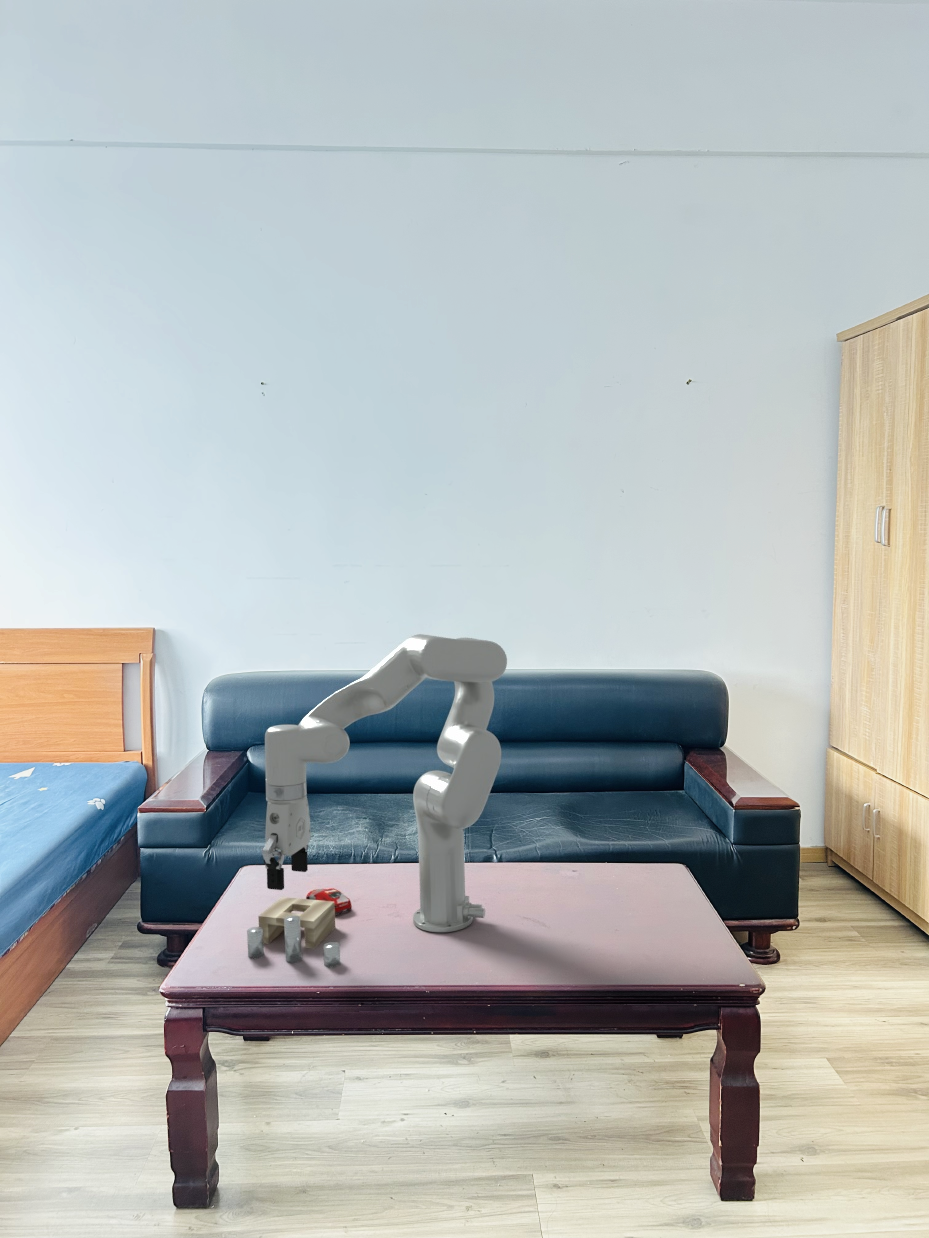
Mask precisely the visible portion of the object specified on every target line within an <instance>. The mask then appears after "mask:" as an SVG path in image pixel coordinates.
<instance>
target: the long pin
mask: <svg viewBox="0 0 929 1238" xmlns="http://www.w3.org/2000/svg"><path fill="white" fill-rule="evenodd" d="M283 931H284V952H285V953H284V954H285V956H284V957H285V962H286V963H289V964H290V963H291V964H294V963H298V962H300V961H302V958H303V957H302V956H303V955H302V937H301V936H302V934H301V933H302V931H301V927H300V917H299V916H297V915H291V916H287V917H285V918H284V930H283Z"/></svg>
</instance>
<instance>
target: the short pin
mask: <svg viewBox="0 0 929 1238" xmlns="http://www.w3.org/2000/svg"><path fill="white" fill-rule="evenodd" d="M340 947H341V946H340V943H339V942H336V941H335V942H334V941H330V942H326V943H324V944H323V965H324V966H325V967H327V968H334V967H338V966H339V965H340V964H341V951H340V950H341V949H340Z"/></svg>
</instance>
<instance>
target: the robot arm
mask: <svg viewBox="0 0 929 1238" xmlns="http://www.w3.org/2000/svg"><path fill="white" fill-rule="evenodd" d="M507 665H508V658H507V654H506V652H505V650H504V649H503V647H502V646H501V645H499V644H498V643H497V642H494V641H491V640H487V639H486V640H484V639H478V638H472V637H471V638H470V637H458V638H450V637H444V636H436V635H430V634H421V633H420V634H413V635H411V636H409V637H408V638H407V639H405V640H404V641H402V642H401V643H400V644H399V645H398V646H397V647H396V648H395V649H393V651H391V652H390V653H388V655H386V656H385V657H384V658H382V660H380V662H378V663H377V664H376V665H375V666H374V667H373V668H372V669H371V670H370V671H368V672H367V673H365V675H363V676H362V677H359V679H357V680H355V681H353V682H351V683H349V684H348V685H346V686H345V687H343V688H341V689H339V690H337V691H335V692H334V693H333V694H331V695H330V696H329V695H328V697H327V698H325V699H323V701H322V702H320V703H319V704H317V706H315V707H314V708H313V709H312V710H311V711H309V713H308V714H306V715H305V716H304V717H303V718H302V720H301V721H300V722H299V723H298V724H278V725H272V726H270V727H269V728H268V729H266V731H265V734H264V755H265V756H264V757H265V758H264V759H265V761H264V763H265V767H264V768H265V800H266V802H267V806H266V815H265V816H266V818H265V845H264V847H263V848H262V851H261V854H262V857H263V863H264V864H265V869H266V888H267V889H269V890H277V891H283V890H284V889H285V868H284V867H283V863H284V860H285V857H291V860H290V861H291V864H290V865H291V871H293V872H301V873H306V872H307V871H308V867H309V866H308V850H309V845H308V844H309V843H310V842H311V839H312V838H311V836H312V834H311V819H310V809H309V801H308V798H307V797H308V796H307V795H308V793H307V764H308V763H309V764H310V763H311V764H312V763H313V764H314V763H315V764H316V763H317V764H331V763H332V764H333V763H335V762H338V761H340V760H341V759H343V758H344V757H345V756H346V755H347V754H348V752H349V749H350V745H351V744H350V737H349V735H348V733H347V731H346V730H345V728H347V727H349V726H350V725H351V724H353V723H354V722H356V721H358V720H361V719H363V718H365V717H368V716H372V715H377V714H381V713H384V712H387V711H390V710H392V709H393V708H394V707H395V706H396V705H398V703H399V702H401V701H402V700H403V699H404V698H405V697H406V696H407V695H409V693H410V692H412V691H413V690H414V689H416V687H418V685H420V684H421V683H423V681H424V680H425V679H431V680H435V681H437V680H438V681H444V682H454V683H453V684H454V698H453V701H452V704H451V708H450V710H449V713H448V715H447V718H446V720H445V723H444V726H443V728H442V731H441V733H440V736H439V738H438V741H437V744H436V753H437V756H438V758H439V759H440V760H441V761H442V762H443V764H445V765H447V766H449V767H451V768H453V771H452V773H450V772H447V771H444V770H437V769H436V770H430V771H427V772H425V773H423V774H422V775H421V776H420V777H419V778H418V780H417V781H416V782H415V784H414V788H413V792H412V793H413V795H412V796H413V797H412V799H413V800H412V801H413V802H412V803H413V807H414V813H415V819H416V824H417V825H416V827H417V837H418V842H417V843H418V866H419V867H418V868H419V869H418V871H419V872H418V873H419V903H420V907H419V909H417V910H416V911H415V912H414V914H413V916H412V919H413V920H412V921H413V924H414V926H416V927H417V928H419V929H420V930H423V931H426V932H431V933H450V932H456V931H460V930H463V929H466V928H467V927H469V926H470V925H471V924H472V923H473V921H474V918H478V919H484V918H485V917H486V909H485V908H484V907H483V904H479V903H478V904H477V903H476V904H475V903H474V904H472V902H470V896H469V895H466V880H465V879H466V877H465V875H466V873H465V837H464V836H465V835H464V829H466V828H469V827H471V826H472V825H473V824H475V823H476V822H477V821H478V820H479V818H480V817H481V815H482V813H483V811H484V809H485V806H486V804H487V802H488V799H489V796H490V794H491V790H492V787H493V786H494V782H495V780H496V778H497V774H498V772H499V769H500V765H501V762H502V748H501V744H500V741H499V740H498V737H496V736H495V734H494V733H492V732H491V731H489V730H487V729H488V725H489V723H490V720H491V716H492V714H493V711H494V710H493V709H494V707H495V706H494V705H495V691H494V684H493V682H495V681H497V680H498V679H500V678H501V677H502V676H503V675H504V673H505V672H506V668H507ZM275 857H278V859H276V858H275Z"/></svg>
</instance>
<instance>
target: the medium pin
mask: <svg viewBox="0 0 929 1238" xmlns="http://www.w3.org/2000/svg"><path fill="white" fill-rule="evenodd" d="M246 933H247V934H246V937H247V940H246V941H247V957H248V958H249V959H252V958H253V959H254V958H256V959H260V958H261V957H264V956H265V949H264V947H265V943H264V941H263V928H262V927H259V926H253V927H250V928H248V929H247V930H246ZM253 959H252V960H253ZM254 960H255V959H254Z"/></svg>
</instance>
